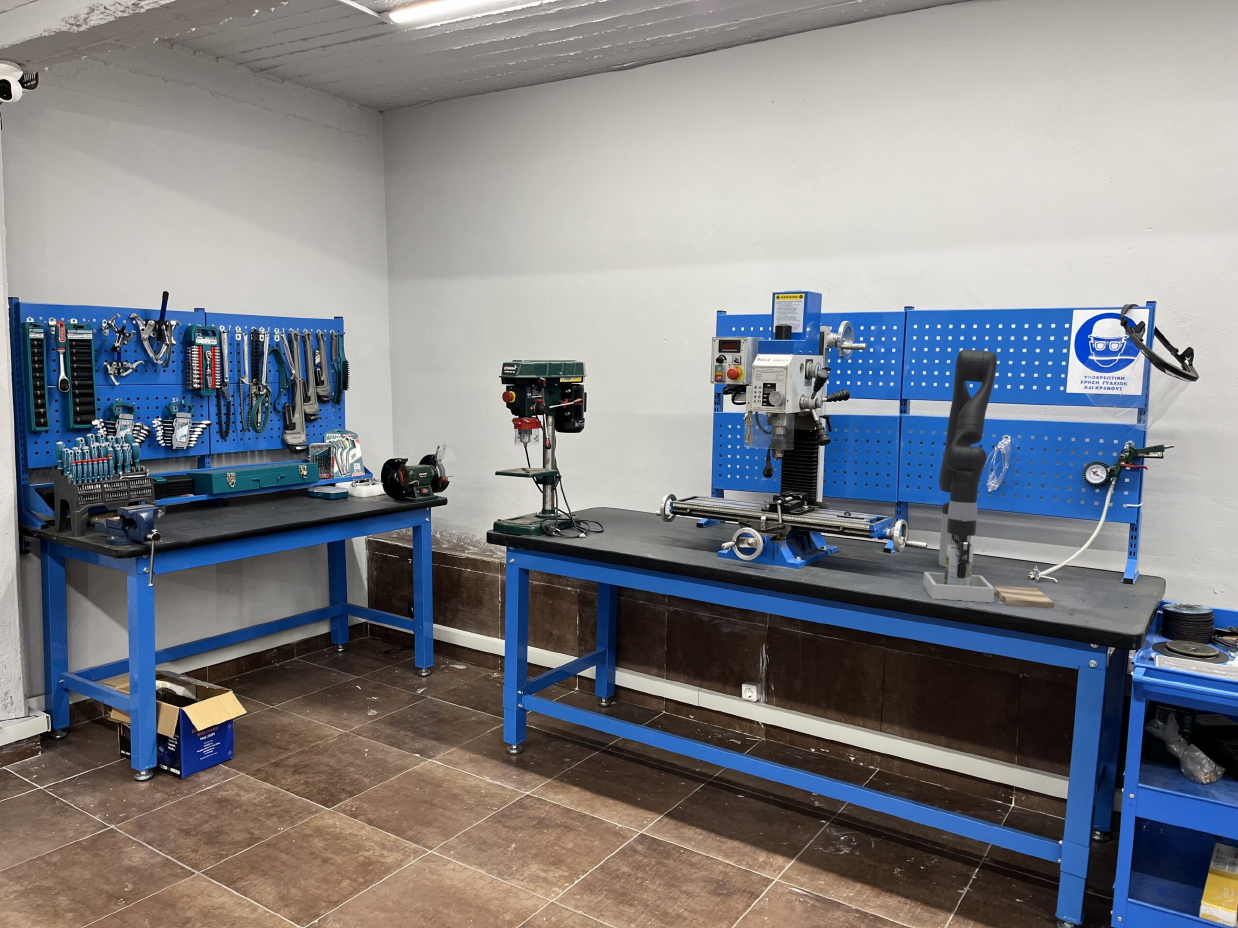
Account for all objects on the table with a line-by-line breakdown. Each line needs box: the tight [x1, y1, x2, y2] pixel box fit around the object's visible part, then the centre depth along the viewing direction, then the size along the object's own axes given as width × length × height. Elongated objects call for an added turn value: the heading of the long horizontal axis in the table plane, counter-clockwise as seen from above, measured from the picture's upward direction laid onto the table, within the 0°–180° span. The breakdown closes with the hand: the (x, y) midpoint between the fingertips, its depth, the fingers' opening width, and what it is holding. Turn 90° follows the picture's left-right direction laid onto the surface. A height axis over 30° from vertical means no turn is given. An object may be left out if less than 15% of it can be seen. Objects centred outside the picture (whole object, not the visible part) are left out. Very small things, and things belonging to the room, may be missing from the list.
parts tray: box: [922, 571, 995, 604], centre depth 247 cm, size 16×16×4 cm
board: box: [992, 585, 1055, 609], centre depth 243 cm, size 16×12×2 cm
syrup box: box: [944, 543, 975, 586], centre depth 247 cm, size 6×6×14 cm
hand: (958, 574), depth 247 cm, fingers closed on syrup box, 7 cm apart
